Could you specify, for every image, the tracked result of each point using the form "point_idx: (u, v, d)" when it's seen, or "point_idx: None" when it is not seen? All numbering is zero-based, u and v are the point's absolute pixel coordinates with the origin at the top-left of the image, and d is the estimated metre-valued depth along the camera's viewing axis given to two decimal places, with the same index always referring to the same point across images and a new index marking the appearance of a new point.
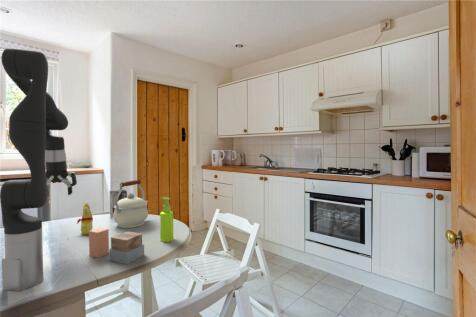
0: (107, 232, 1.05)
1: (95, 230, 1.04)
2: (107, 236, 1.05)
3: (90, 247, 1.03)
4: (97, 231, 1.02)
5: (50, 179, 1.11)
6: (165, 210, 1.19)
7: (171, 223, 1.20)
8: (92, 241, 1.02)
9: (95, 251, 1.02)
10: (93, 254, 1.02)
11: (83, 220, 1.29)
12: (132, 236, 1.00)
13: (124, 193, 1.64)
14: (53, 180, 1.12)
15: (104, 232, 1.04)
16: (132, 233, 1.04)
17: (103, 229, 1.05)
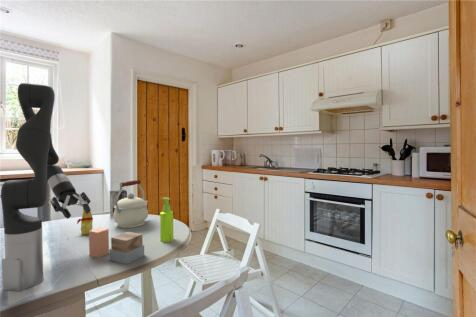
0: (107, 232, 1.05)
1: (95, 230, 1.04)
2: (107, 236, 1.05)
3: (90, 247, 1.03)
4: (97, 231, 1.02)
5: (67, 198, 1.08)
6: (165, 210, 1.19)
7: (171, 223, 1.20)
8: (92, 241, 1.02)
9: (95, 251, 1.02)
10: (93, 254, 1.02)
11: (83, 220, 1.29)
12: (132, 236, 1.00)
13: (124, 193, 1.64)
14: (69, 200, 1.09)
15: (104, 232, 1.04)
16: (132, 233, 1.04)
17: (103, 229, 1.05)
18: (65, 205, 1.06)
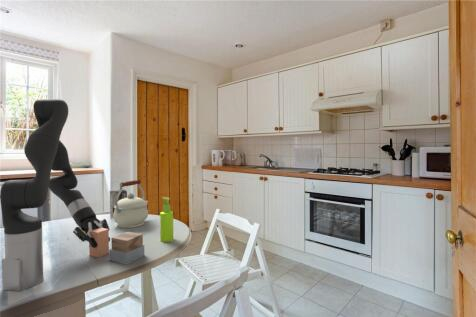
0: (107, 232, 1.05)
1: (95, 230, 1.04)
2: (107, 236, 1.05)
3: (90, 247, 1.03)
4: (97, 231, 1.02)
5: (90, 226, 1.04)
6: (165, 210, 1.19)
7: (171, 223, 1.20)
8: None
9: (95, 251, 1.02)
10: (93, 254, 1.02)
11: None
12: (132, 236, 1.00)
13: (124, 193, 1.64)
14: (92, 227, 1.05)
15: (104, 232, 1.04)
16: (132, 233, 1.04)
17: (103, 229, 1.05)
18: (91, 234, 1.02)
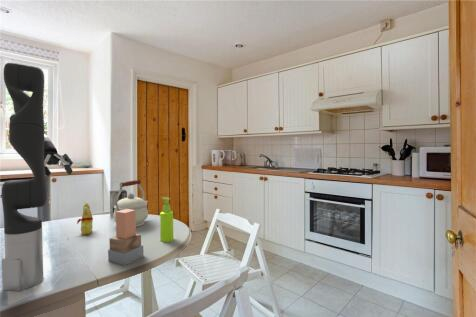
0: (134, 213, 1.01)
1: (122, 211, 1.00)
2: (134, 217, 1.01)
3: (117, 228, 0.99)
4: (124, 211, 0.98)
5: (48, 157, 1.05)
6: (165, 210, 1.19)
7: (171, 223, 1.20)
8: (119, 222, 0.98)
9: (123, 232, 0.98)
10: (120, 235, 0.98)
11: (83, 220, 1.29)
12: (131, 237, 0.99)
13: (124, 193, 1.64)
14: (50, 159, 1.06)
15: (131, 213, 1.00)
16: None
17: (130, 210, 1.01)
18: (45, 163, 1.03)
